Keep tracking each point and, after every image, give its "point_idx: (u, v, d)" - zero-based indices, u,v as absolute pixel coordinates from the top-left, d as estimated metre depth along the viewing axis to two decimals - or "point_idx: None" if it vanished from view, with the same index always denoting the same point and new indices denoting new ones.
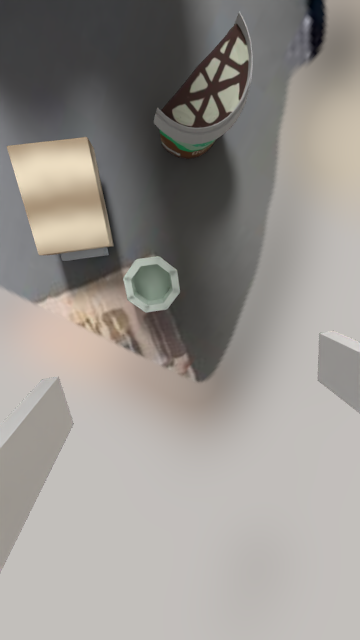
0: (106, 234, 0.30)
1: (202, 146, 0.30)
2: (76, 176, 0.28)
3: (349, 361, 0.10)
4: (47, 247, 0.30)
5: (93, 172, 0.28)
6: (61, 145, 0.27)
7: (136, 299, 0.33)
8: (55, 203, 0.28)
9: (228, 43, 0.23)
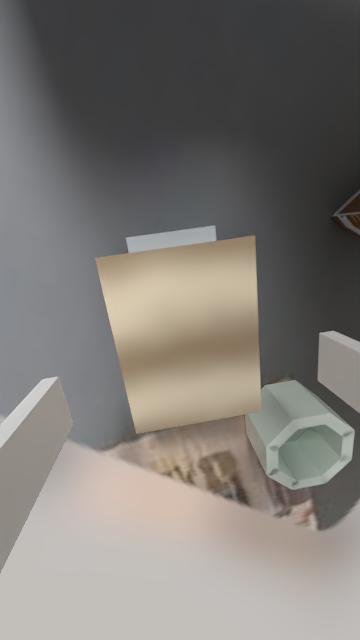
0: (259, 395, 0.16)
1: None
2: (222, 305, 0.14)
3: (350, 361, 0.10)
4: (152, 422, 0.16)
5: (255, 297, 0.14)
6: (203, 251, 0.13)
7: (281, 474, 0.20)
8: (176, 352, 0.15)
9: None
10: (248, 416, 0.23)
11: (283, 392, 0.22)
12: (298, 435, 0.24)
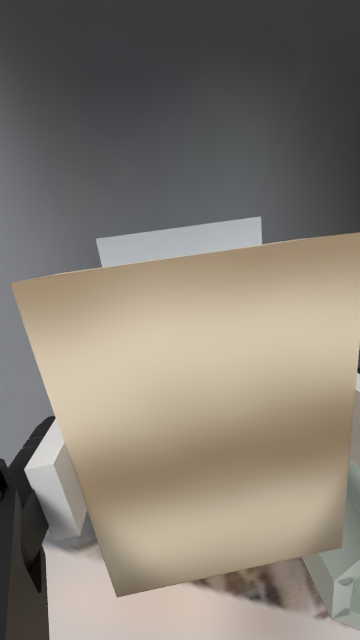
0: (340, 524, 0.09)
1: None
2: (288, 375, 0.07)
3: None
4: (147, 577, 0.09)
5: (353, 358, 0.07)
6: (255, 267, 0.06)
7: (353, 614, 0.13)
8: (193, 463, 0.07)
9: None
10: None
11: None
12: None
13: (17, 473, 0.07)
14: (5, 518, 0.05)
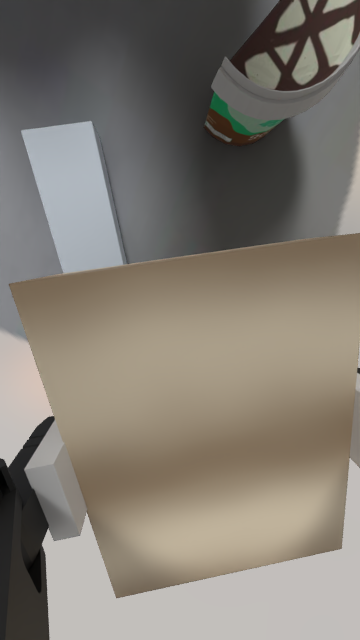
0: (340, 524, 0.09)
1: (270, 126, 0.20)
2: (288, 376, 0.07)
3: None
4: (147, 578, 0.09)
5: (353, 359, 0.07)
6: (255, 269, 0.06)
7: None
8: (192, 464, 0.07)
9: None
10: None
11: None
12: None
13: (17, 472, 0.07)
14: (5, 518, 0.05)
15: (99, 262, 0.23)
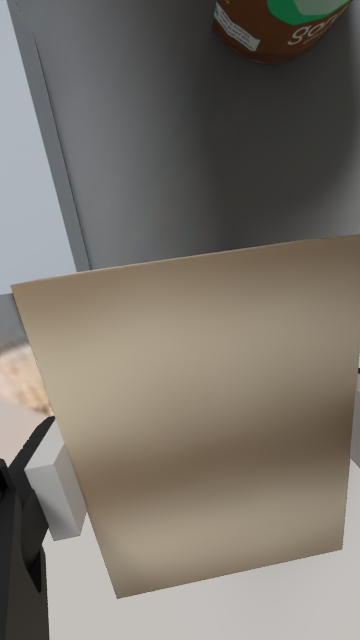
0: (340, 525, 0.09)
1: None
2: (289, 377, 0.07)
3: None
4: (147, 579, 0.09)
5: (354, 360, 0.07)
6: (256, 269, 0.06)
7: None
8: (193, 465, 0.07)
9: None
10: None
11: None
12: None
13: (17, 472, 0.07)
14: (5, 518, 0.05)
15: (29, 248, 0.14)
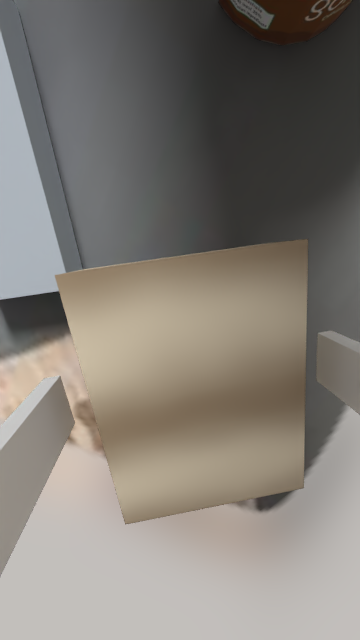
0: (301, 467, 0.11)
1: None
2: (254, 344, 0.09)
3: (347, 361, 0.10)
4: (149, 508, 0.11)
5: (303, 332, 0.09)
6: (227, 264, 0.08)
7: None
8: (184, 413, 0.10)
9: None
10: None
11: None
12: None
13: None
14: None
15: (13, 250, 0.12)
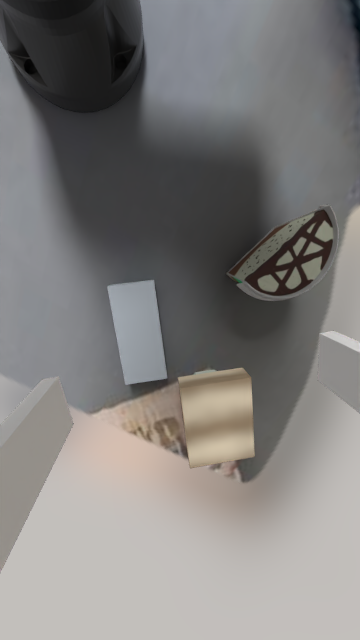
0: (253, 448, 0.32)
1: None
2: (235, 406, 0.30)
3: (349, 361, 0.10)
4: (198, 462, 0.31)
5: (251, 402, 0.30)
6: (227, 384, 0.29)
7: None
8: (213, 428, 0.30)
9: (315, 225, 0.25)
10: None
11: None
12: None
13: None
14: None
15: (148, 365, 0.33)
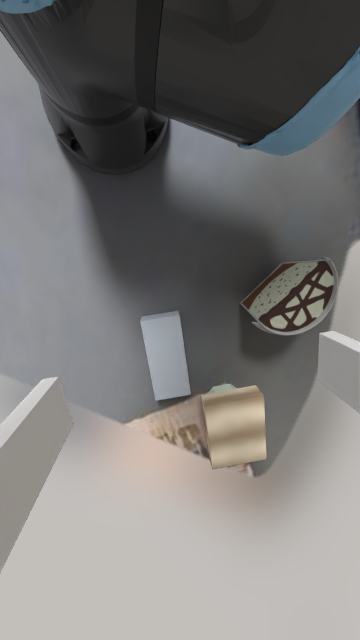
0: (265, 452, 0.38)
1: None
2: (250, 419, 0.36)
3: (350, 361, 0.10)
4: (219, 464, 0.37)
5: (263, 416, 0.36)
6: (244, 402, 0.35)
7: None
8: (231, 437, 0.36)
9: (318, 274, 0.29)
10: None
11: (221, 390, 0.41)
12: None
13: None
14: None
15: (175, 384, 0.38)
